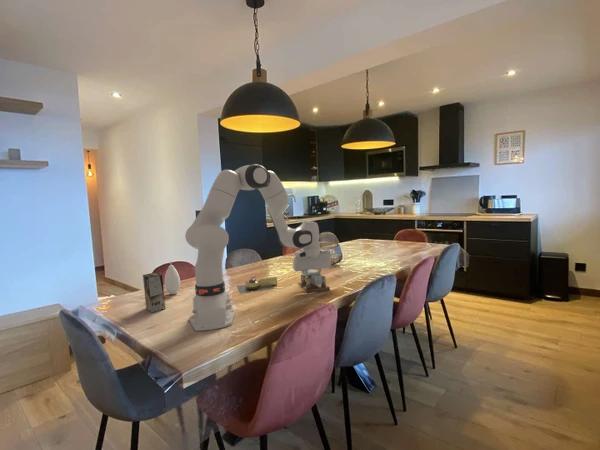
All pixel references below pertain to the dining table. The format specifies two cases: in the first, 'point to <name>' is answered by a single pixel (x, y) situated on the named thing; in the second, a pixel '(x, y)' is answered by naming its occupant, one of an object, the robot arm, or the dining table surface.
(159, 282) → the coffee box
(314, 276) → the grey rectangular bar
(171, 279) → the white teardrop candle
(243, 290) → the dial base
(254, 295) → the dining table surface
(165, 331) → the dining table surface
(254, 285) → the khaki elongated piece
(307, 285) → the cradle
